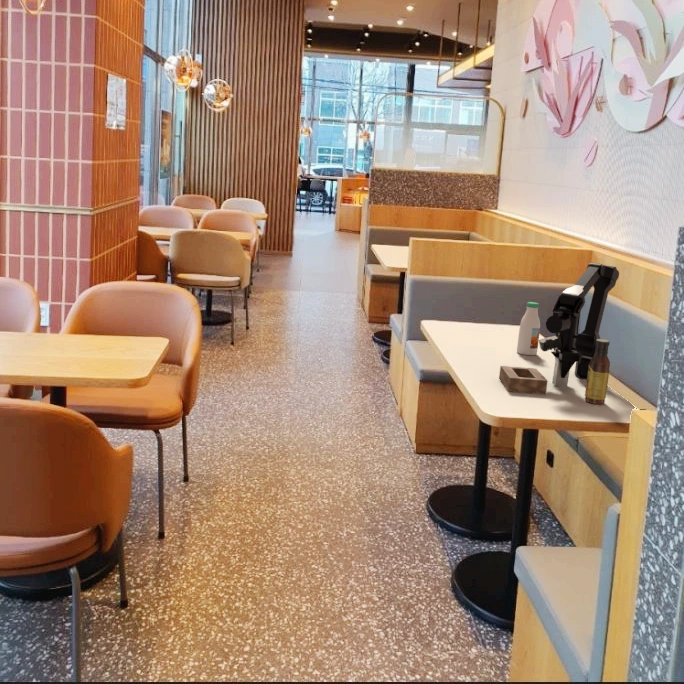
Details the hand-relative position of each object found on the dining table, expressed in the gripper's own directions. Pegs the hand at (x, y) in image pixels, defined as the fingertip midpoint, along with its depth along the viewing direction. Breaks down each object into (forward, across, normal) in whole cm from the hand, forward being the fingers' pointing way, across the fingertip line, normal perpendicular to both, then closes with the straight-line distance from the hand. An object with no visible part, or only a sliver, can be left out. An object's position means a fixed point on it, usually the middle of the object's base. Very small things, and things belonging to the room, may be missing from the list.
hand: (560, 376), depth 279 cm
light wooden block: (+3, 0, 0) cm, 3 cm away
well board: (+3, +6, -14) cm, 16 cm away
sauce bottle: (+3, +19, +6) cm, 20 cm away
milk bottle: (+3, -47, -1) cm, 47 cm away
